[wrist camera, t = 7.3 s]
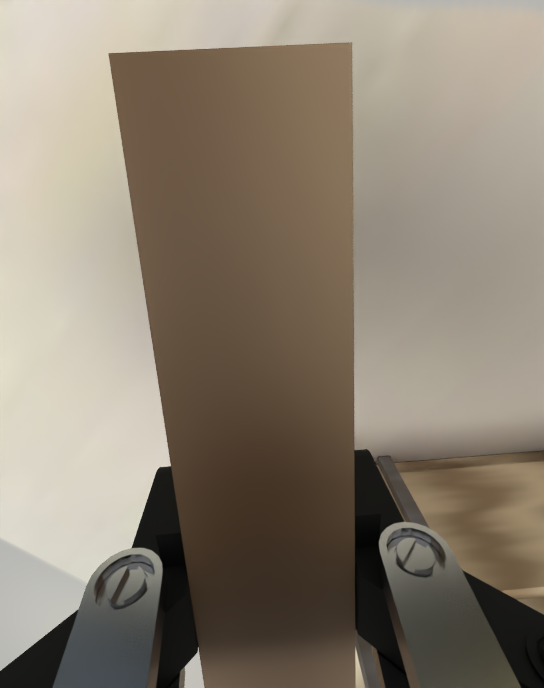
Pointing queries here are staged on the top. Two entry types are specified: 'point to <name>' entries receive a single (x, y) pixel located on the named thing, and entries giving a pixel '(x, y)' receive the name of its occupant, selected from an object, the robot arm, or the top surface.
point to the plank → (253, 342)
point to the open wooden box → (475, 520)
